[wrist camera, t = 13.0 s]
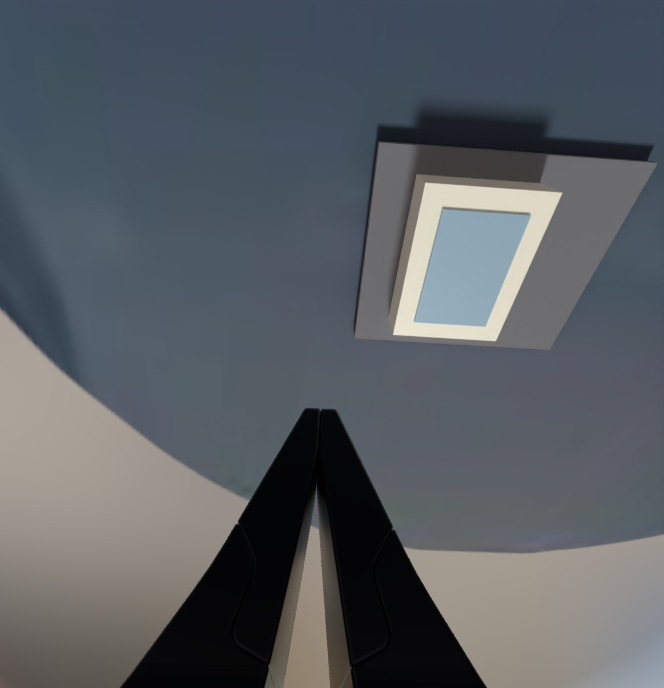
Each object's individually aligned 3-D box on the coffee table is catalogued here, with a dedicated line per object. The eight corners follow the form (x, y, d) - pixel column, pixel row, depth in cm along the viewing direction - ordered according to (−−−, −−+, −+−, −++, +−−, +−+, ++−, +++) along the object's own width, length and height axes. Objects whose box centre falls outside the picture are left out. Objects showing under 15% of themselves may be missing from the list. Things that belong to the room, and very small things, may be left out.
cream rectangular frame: (496, 342, 19) (393, 335, 19) (483, 322, 21) (388, 316, 20) (563, 193, 14) (426, 183, 14) (539, 183, 16) (416, 174, 16)
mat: (648, 160, 16) (657, 163, 15) (544, 344, 22) (549, 349, 22) (378, 140, 15) (379, 142, 15) (354, 333, 22) (354, 338, 21)
